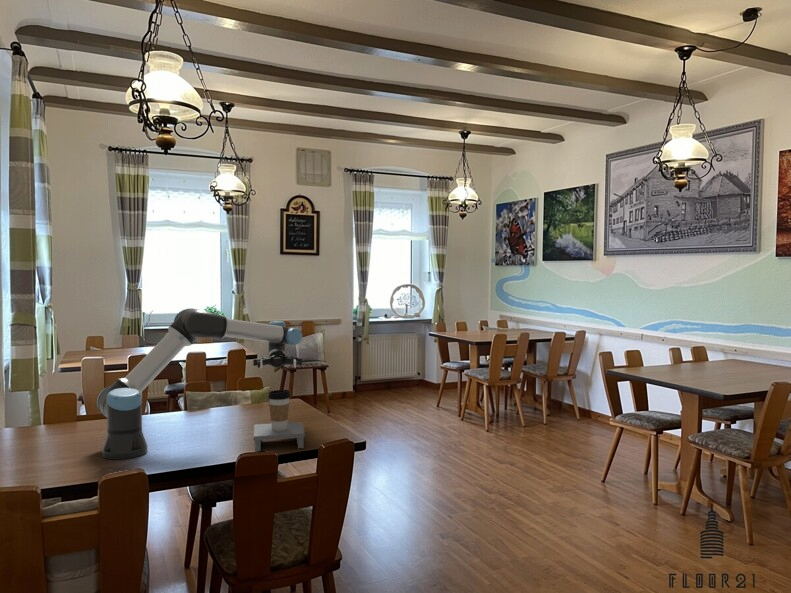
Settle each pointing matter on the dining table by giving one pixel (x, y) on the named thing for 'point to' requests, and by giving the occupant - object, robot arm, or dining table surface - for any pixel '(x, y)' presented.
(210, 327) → the robot arm
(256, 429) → the bridge shelf
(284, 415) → the coffee cup
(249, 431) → the dining table surface
